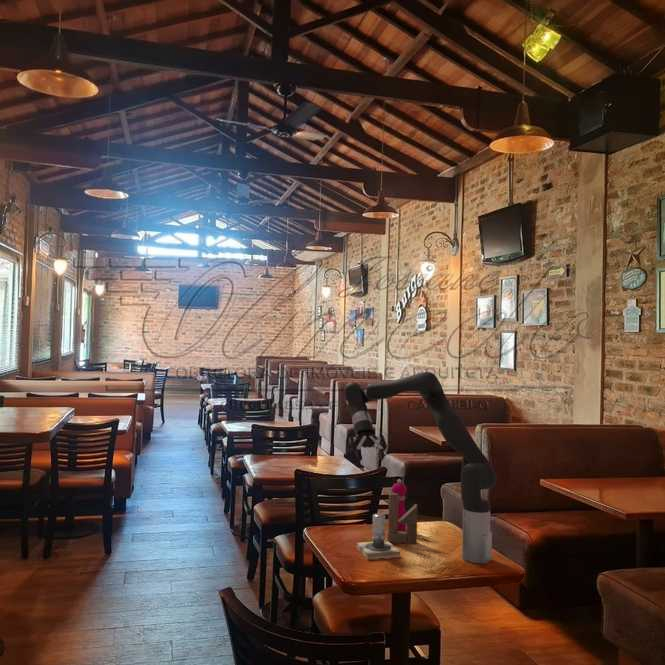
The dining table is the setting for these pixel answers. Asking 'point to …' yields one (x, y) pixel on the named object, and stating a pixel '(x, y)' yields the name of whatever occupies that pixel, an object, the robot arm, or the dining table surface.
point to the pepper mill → (400, 501)
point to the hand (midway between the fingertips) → (371, 459)
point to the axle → (378, 531)
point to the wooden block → (407, 519)
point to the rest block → (378, 550)
